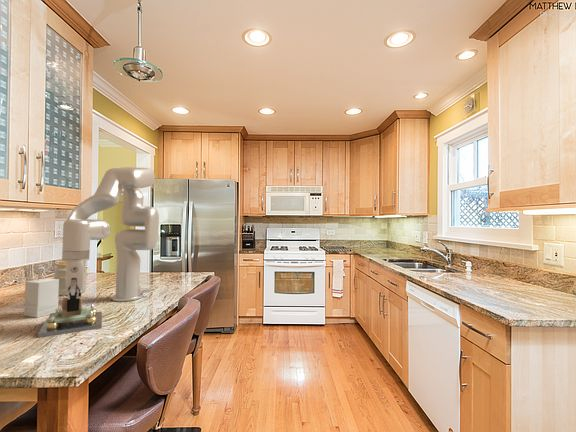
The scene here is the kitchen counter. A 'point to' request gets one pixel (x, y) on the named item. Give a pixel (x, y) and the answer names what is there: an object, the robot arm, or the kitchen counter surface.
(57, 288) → the supplement box
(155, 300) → the kitchen counter surface
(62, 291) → the jar
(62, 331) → the standoff base
